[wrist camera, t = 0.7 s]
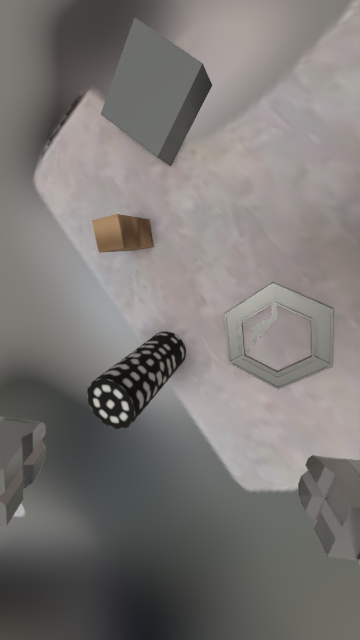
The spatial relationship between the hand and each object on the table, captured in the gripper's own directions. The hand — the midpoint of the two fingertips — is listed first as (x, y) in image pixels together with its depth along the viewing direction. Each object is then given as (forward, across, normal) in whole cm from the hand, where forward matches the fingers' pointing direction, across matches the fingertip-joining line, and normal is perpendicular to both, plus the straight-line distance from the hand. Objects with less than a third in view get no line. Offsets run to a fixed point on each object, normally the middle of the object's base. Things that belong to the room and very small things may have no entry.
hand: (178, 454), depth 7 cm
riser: (+42, +7, -27) cm, 50 cm away
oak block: (+44, +8, -7) cm, 46 cm away
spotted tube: (+43, -1, +15) cm, 45 cm away
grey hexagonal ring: (+35, -19, +6) cm, 40 cm away
